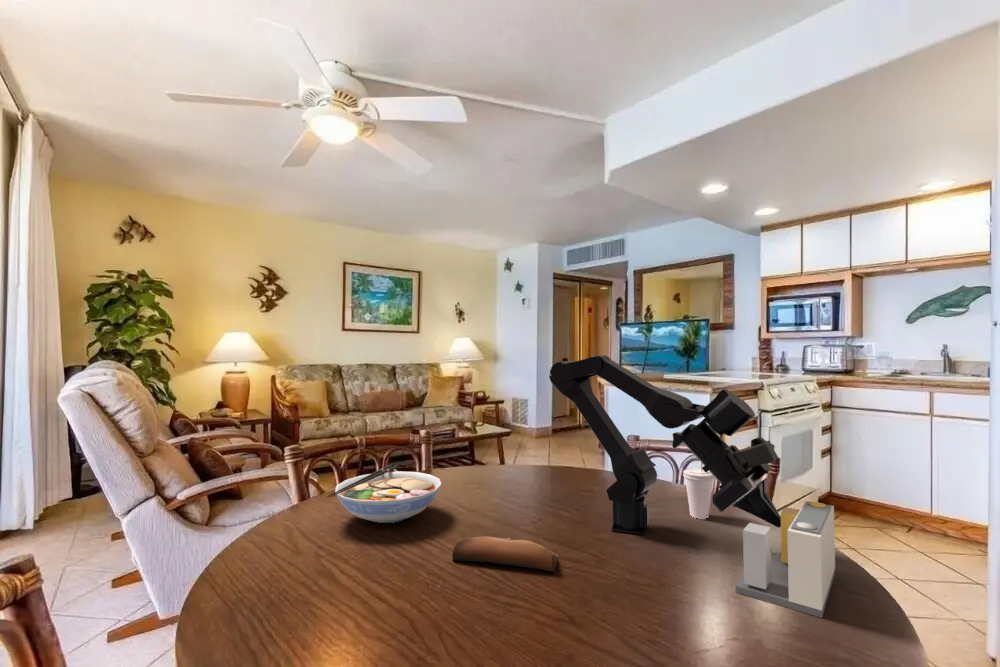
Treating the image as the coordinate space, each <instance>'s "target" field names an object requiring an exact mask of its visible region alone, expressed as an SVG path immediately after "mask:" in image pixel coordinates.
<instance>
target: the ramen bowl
mask: <svg viewBox="0 0 1000 667" xmlns="http://www.w3.org/2000/svg"><path fill="white" fill-rule="evenodd" d="M398 467H399V465H397V464H396V465H393V466H392V464H388V465H386V466H383V467H382V468H380V469H378V470H376V471H374V472H372V473H369V474H368V473H367V474H361V475H358V476H355V477H351V478H347V479H345V480H343V481H342V482H340V483H339V484H337V485H336V487H335V490H334V492H333V493H331V494H329V495H326V498H333V497H334V496H336V497H337V498H338V500H339V502H340V503H341V505H343V507H345V509H346V510H347V511H348V512H349V513H351V514H353V516H355V517H357V518H359V519H363V520H366V521H371V522H374V523H375V522H377V523H376V524H379V523H392V524H396V523H395V522H397V523H400V522H399V521H401V522H402V520H403V521H405V520H407V519H408V518H411V517H413V516H416V515H417V514H419V513H421V512H423V511H424V510H425V509H427V508H428V506H429V505H430V504H431V503H432V501H433V500H434V499H435V497H436V496H437V494H438V493H439V491H440V489H441V486H442V484H443V483H442V481H441V479H440V478H439V477H437V476H435V475H432V474H429V473H424V472H420V471H418V472H417V471H398V470H397V469H398ZM394 470H397V471H394ZM404 519H405V520H404Z"/></svg>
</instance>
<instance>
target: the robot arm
mask: <svg viewBox="0 0 1000 667" xmlns="http://www.w3.org/2000/svg"><path fill="white" fill-rule="evenodd" d="M595 376H598V377H600V378H601V379H603V380H604V381H606V382H608V383H609V384H610V385H612V386H613V387H615V388H617V390H620V391H622V393H625V394H626V395H628V396H629V397H631V398H633V399H634V400H636V401H637V402H638V403H640V404H641V405H642V406H643V407H644V408H645V409H646V411H647V413H648V414H649V415H650V416H651V417H652V418H653V419H654V420H656V421H657V422H658V423H659V424H660V425H661V426H662V427H664V428H666V429H672V430H673V429H677V428H680V427H683V426H686V425H687V427H685V428H684V429H683V430H682V431H681V432H679V431H676V432H674V433H672V434H671V435H672V446H671V447H672V448H673V449H676V448H678V447H681V446H683V445H685V446H686V447H687V449H688V450H689V451H690V452H691V453H692V454H693V455H694V456H695V457H696V459H697V460H698V461H699V462H700V461H701V463H702V464H703V468H702V469H703V470H704V471H705V472H708V471H710V472H711V474H712V475H713V476H714V479H716V480H717V481H718V483H719V484H720V486H718V488H719V489H718V490H717V491H716V492H714V493H713V494H711V498H712V504H713V505H714V507H716V508H717V510H718V511H719V512H720V513H722V512H723V511H725V510H726V509H727V508H729V507H730V506H732V507H733V508H738V509H740V510H742V511H745V512H747V513H748V514H751V515H753V516H755V517H756V518H758V519H760V520H763V521H764V522H767V523H768V524H770V525H773V526H774V527H776V528H781V514H780V513H779V512H778V510H777V508H776V506H775V504H774V503H773V501H772V500H771V497H770V496H769V494H768V491H767V485H768V484H767V483H768V477H765V478H764V479H763V480H761V481H760V479H761V478H762V477H763V476H765V475H767V474H768V473H769V472H771V471H772V468H771V467H770V466H769V465H770V464H772V463H774V462H775V461H776V460H777V459H779V457H778V454H777V452H776V451H775V448H776V447H775V446H776V445H775V444H773V443H771V440H770V439H768V440H766V439H764V438H763V437H762V436H759V437H755V438H753V439H751V441H750V446H747V447H745V448H742V449H739V448H738V447H737V446H736V445H733V444H731V445H729V444H727V443H726V441H724V440H723V438H722V437H721V436H724V435H726V436H728V437H732V436H733V435H735V434H736V433H737V432H738V431H739V430H741V428H742V427H744V426H745V425H746V424H747V423H749V422H750V421H751V420H752V419H753V418H755V417H756V414H755V411H754V410H753V408H752V407H751V406H750V405H749V404H748V403H747V402H746V401H745V400H744V399H741V398H740V397H738V396H737V395H735V394H734V393H732V392H730V390H729V389H727V388H724V389H721V390H720V391H719V392H717V395H716V396H715V397H714V398H713V399H712V400H711V401H710V402H709V403H708V404H707V405H702V404H698V403H693V402H692V400H690V399H689V398H688V397H687V396H683V395H681V394H678V393H676V392H674V391H672V390H671V391H670V390H666V389H663V388H660V387H658V386H655V385H653V384H651V383H650V382H648V381H646V380H645V379H643V378H642V377H640V376H638V375H637V374H636V373H634V372H632V371H630V370H629V369H627V368H625V367H624V366H622V365H621V364H619V363H617V362H616V361H614V360H612V359H611V358H610V357H609V356H608V355H606V354H600V355H599V354H598V355H597V354H596V355H592V356H590V357H587V358H583V359H580V360H576V361H573V360H569V361H558V362H555V363H554V364H553V365H552V366H551V368H550V370H549V376H548V377H549V381H550V383H551V384H552V385H553V386H554V388H556V390H557V391H559V393H560V394H561V395H563V396H565V397H566V398H567V399H569V400H570V401H572V402H573V404H574V406H575V407H576V409H577V410H578V411H579V413H580V414H581V416H582V417H583V419H584V420H585V422H586V423H587V425H588V427H589V428H590V429H591V431H592V433H593V435H595V437H596V438H597V440H598V441H599V443H600V445H601V446H602V447H603V449H604V451H605V453H607V455H608V457H609V460H610V463H611V469H612V474H613V477H614V478H615V482H613V484H611V485H610V486H609V487H608V488H607V489H606V494H607V497H608V500H609V501H612V525H611V528H610V529H611V531H613V532H619V533H627V534H635V535H637V534H638V535H645V534H646V530H647V529H649V528H648V527H649V505H648V504H646V499H645V498H646V497H645V496H647V495H648V494H649V491H650V489H652V488H654V487H655V485H656V484H657V479H658V473H657V472H658V471H657V470H656V468H655V467H656V464H655V462H653V461H652V459H650V457H649V455H648V454H647V453H648V452H647V451H646V450H645V449H644V448H640V449H639V450H636V449H634V448H632V446H631V445H630V444H629V443H628V442H627V440H626V438H625V437H624V436H623V434H622V433H621V432H620V430H619V429H618V427H617V426H616V424H615V423H614V421H613V420H612V418H611V416H610V415H609V414H608V412H607V410H605V408H604V406H603V405H602V404H601V403H600V401H599V400H598V398H597V397H596V394H595V393H594V392H593V390H592V384H591V379H590V378H594V377H595ZM701 418H703V419H702V420H701V421H700V422H698V424H694V423H691V422H694V421H696V420H698V419H701ZM689 423H691V424H689ZM688 424H689V425H688ZM768 464H769V465H768Z"/></svg>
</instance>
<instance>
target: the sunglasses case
mask: <svg viewBox="0 0 1000 667" xmlns="http://www.w3.org/2000/svg"><path fill="white" fill-rule="evenodd" d="M451 556H452V557H451V558H452V561H455V562H456V561H457V562H474V563H475V562H479V563H486V562H488V563H492V564H499V565H503V566H504V565H506V566H507V565H508V566H515V567H520V568H528V569H537V570H543V571H548V572H551V573H552V574H555V570H556V566H557V563H558V556H559V554H556V553H555V552H553V551H552V550H550V549H549V548H547V547H545V546H543V545H541V544H539V543H536V542H534V541H531V540H526V539H513V538H509V537H507V538H504V537H496V536H495V537H494V536H485V535H483V536H474V537H473V536H472V537H466V538H463V539H460V540H459V541H457V542H455V544H454V546H453V549H452V555H451Z"/></svg>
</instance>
